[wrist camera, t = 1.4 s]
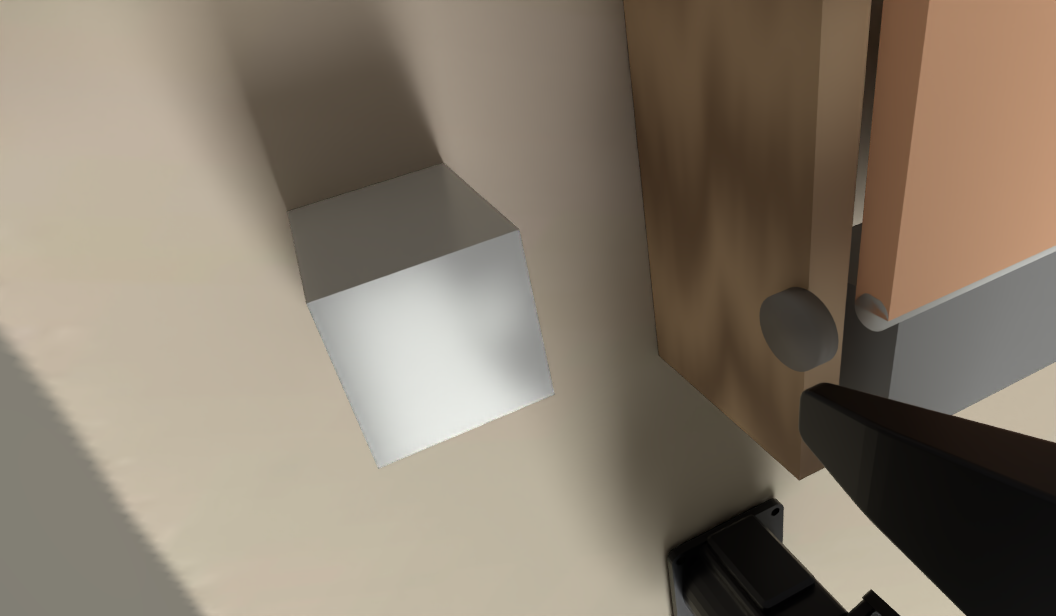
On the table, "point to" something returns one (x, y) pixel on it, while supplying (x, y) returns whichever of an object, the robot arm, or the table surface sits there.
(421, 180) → the stone
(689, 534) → the table surface
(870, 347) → the trapdoor
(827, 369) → the trapdoor frame
